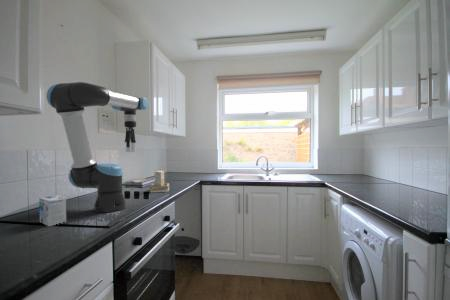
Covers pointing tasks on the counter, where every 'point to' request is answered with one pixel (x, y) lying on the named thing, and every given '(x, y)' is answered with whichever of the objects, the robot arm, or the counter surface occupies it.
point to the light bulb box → (52, 210)
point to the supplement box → (159, 178)
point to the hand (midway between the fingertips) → (130, 152)
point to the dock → (159, 188)
